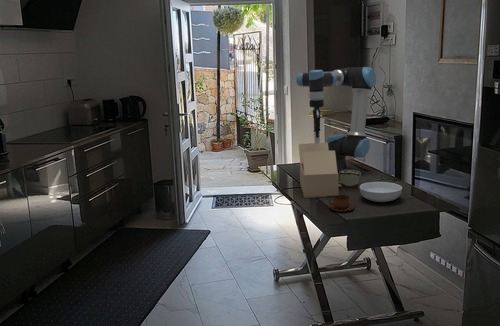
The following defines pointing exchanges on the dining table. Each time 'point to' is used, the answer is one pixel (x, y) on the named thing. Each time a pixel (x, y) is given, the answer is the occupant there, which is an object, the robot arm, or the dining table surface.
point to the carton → (318, 184)
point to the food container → (349, 179)
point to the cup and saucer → (341, 203)
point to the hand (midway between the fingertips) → (317, 143)
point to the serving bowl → (380, 191)
